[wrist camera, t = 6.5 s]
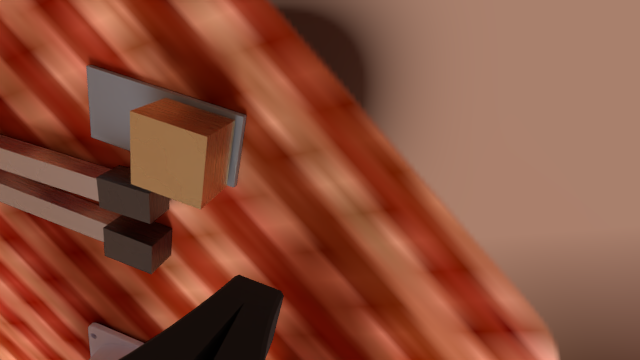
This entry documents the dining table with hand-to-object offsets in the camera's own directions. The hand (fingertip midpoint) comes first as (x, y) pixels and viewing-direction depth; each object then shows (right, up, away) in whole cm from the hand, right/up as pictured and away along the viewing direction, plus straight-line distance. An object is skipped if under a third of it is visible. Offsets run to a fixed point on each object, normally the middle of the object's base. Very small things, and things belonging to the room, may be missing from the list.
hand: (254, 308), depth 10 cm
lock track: (-6, +6, +8) cm, 12 cm away
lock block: (-4, +6, +8) cm, 11 cm away
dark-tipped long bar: (-15, +3, +13) cm, 20 cm away
